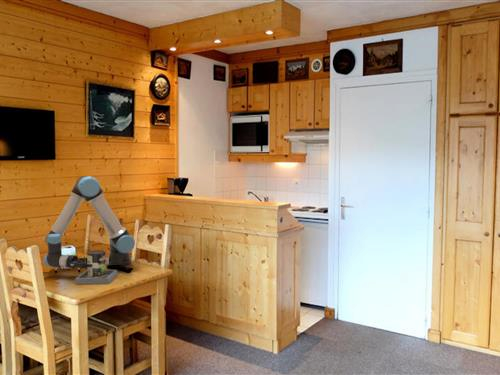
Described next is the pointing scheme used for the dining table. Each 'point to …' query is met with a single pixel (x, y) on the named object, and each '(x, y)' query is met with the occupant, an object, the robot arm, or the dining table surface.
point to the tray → (103, 280)
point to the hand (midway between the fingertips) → (103, 263)
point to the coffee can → (99, 258)
